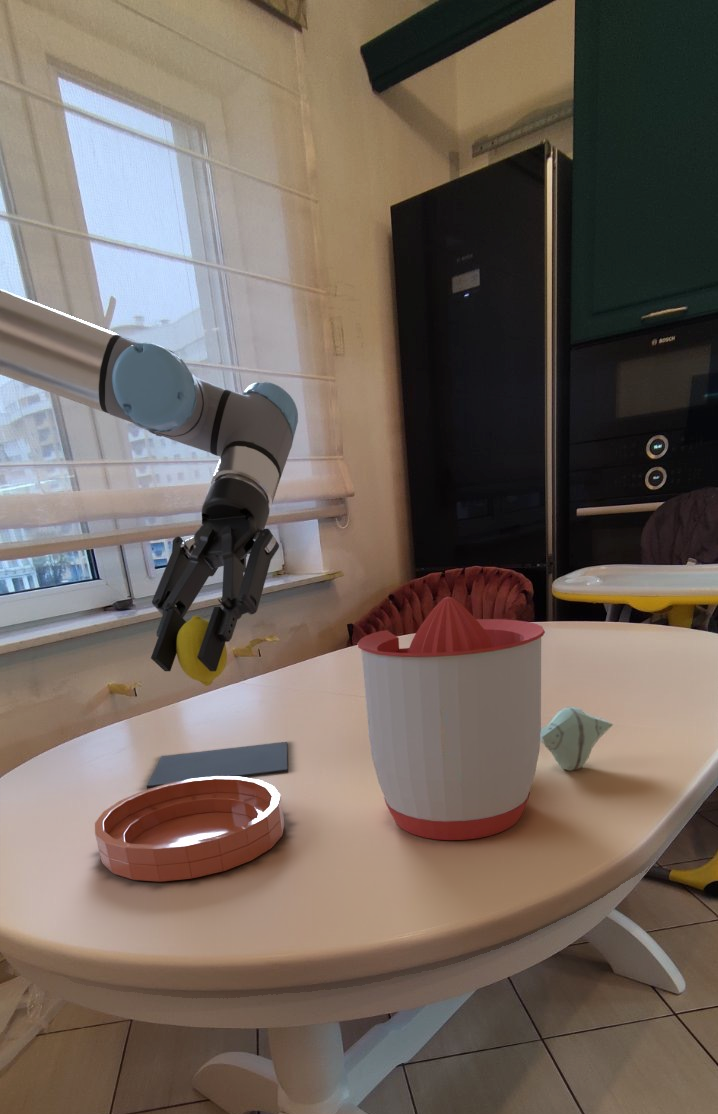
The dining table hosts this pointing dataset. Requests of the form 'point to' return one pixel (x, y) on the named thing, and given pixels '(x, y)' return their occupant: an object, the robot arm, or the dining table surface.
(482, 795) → the citrus juicer
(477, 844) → the dining table surface
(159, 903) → the dining table surface
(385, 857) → the dining table surface
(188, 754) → the mat
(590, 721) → the pale green angular piece
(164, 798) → the bowl
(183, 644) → the lemon
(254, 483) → the robot arm
